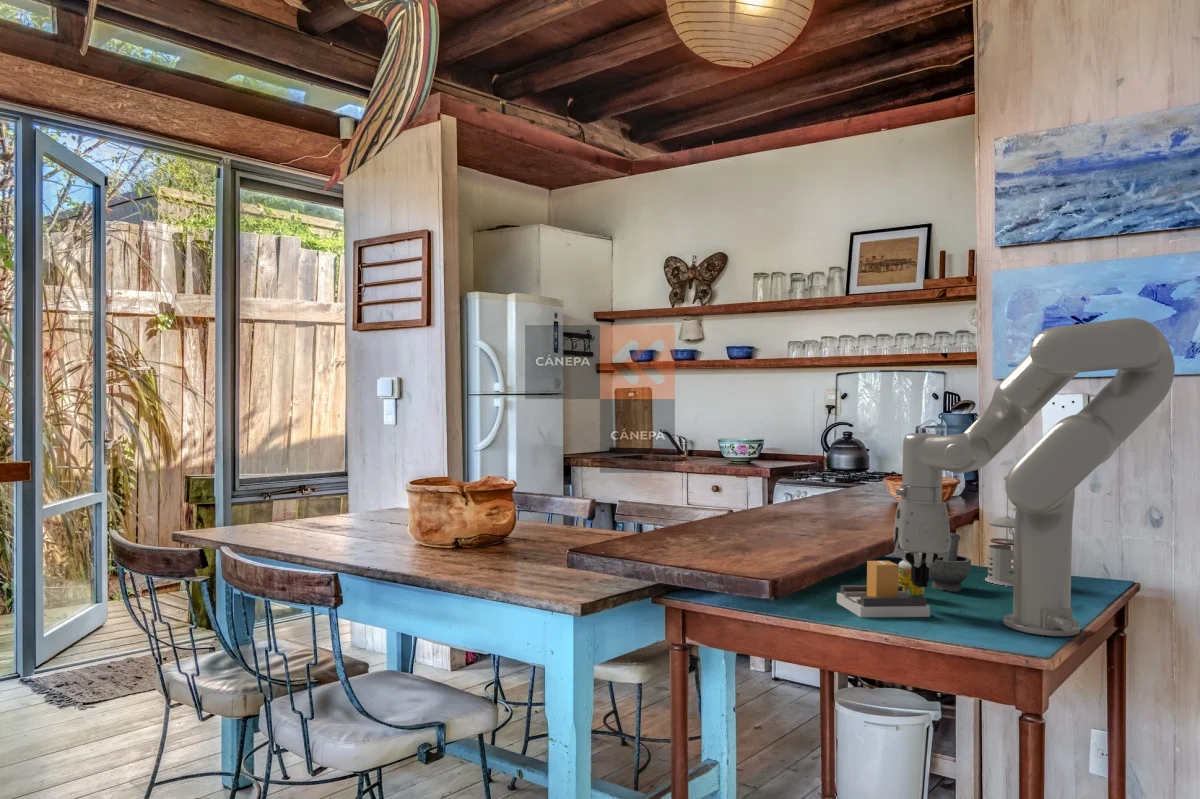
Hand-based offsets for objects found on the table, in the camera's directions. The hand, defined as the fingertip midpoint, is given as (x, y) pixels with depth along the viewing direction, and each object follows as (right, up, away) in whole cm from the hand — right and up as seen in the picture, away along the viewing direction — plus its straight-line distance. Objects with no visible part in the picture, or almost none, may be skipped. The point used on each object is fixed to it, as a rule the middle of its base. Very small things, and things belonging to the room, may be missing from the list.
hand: (919, 585), depth 172 cm
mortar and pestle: (+14, -5, +20) cm, 25 cm away
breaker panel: (-8, -5, -1) cm, 9 cm away
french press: (+31, -6, +28) cm, 43 cm away
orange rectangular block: (-8, -2, -1) cm, 8 cm away
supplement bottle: (+2, -5, +10) cm, 12 cm away
